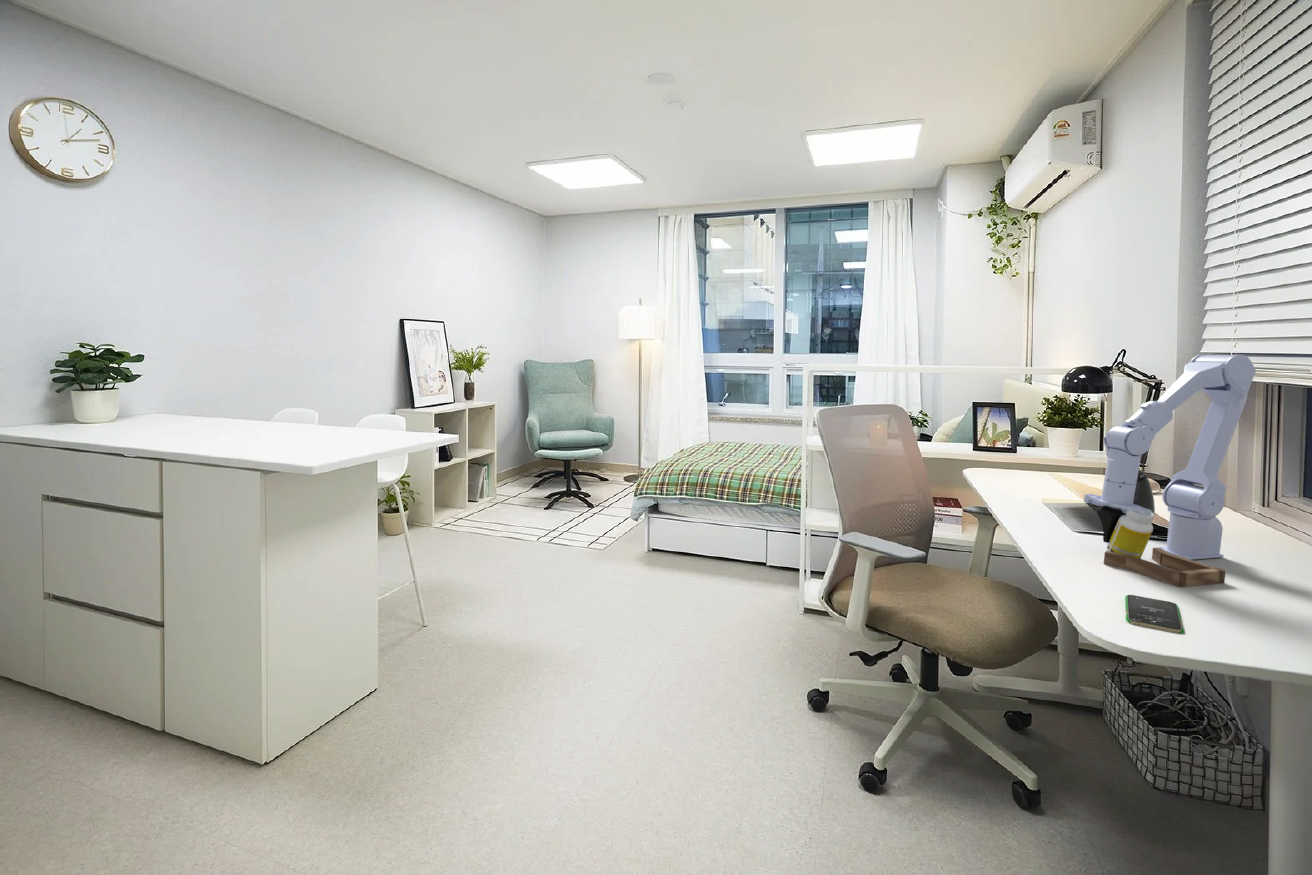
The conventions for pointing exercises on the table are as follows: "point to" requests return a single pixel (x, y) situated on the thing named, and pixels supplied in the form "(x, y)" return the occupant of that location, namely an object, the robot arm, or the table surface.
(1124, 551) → the pill bottle
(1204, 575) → the wooden u-shaped bracket
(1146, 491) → the dark grey egg-shaped device
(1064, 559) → the table surface
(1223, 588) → the table surface
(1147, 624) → the smartphone
